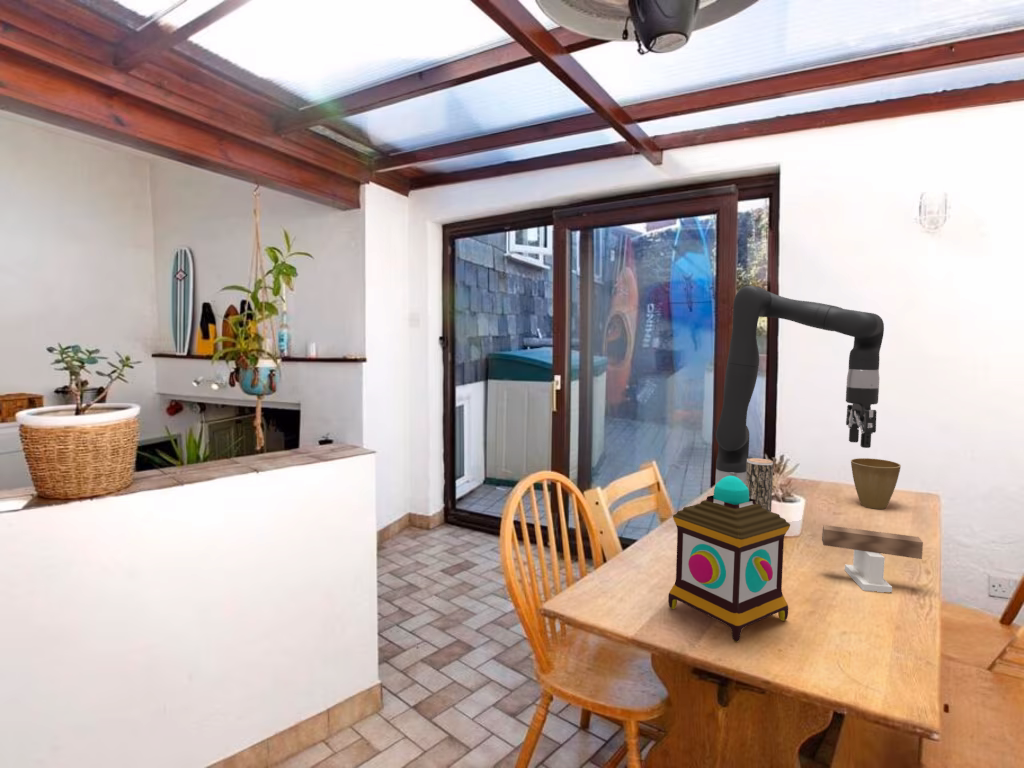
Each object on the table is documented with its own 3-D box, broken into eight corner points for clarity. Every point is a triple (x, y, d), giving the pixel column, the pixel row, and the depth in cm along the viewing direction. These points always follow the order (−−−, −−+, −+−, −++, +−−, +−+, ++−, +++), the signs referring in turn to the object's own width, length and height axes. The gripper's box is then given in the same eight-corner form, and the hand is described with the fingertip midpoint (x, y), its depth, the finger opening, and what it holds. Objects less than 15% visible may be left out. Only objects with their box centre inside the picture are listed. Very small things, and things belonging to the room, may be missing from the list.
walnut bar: (823, 545, 137) (824, 529, 137) (822, 540, 140) (822, 524, 140) (921, 559, 128) (922, 542, 128) (917, 553, 132) (918, 536, 132)
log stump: (769, 545, 158) (773, 459, 156) (769, 554, 152) (773, 464, 150) (743, 542, 161) (747, 457, 159) (742, 549, 155) (746, 461, 153)
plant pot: (850, 498, 208) (852, 456, 207) (898, 505, 200) (901, 461, 198) (846, 507, 196) (849, 463, 195) (897, 515, 188) (900, 469, 186)
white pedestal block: (862, 590, 130) (864, 557, 129) (844, 570, 142) (846, 539, 141) (891, 593, 129) (893, 559, 128) (870, 572, 140) (872, 541, 140)
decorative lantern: (717, 586, 132) (721, 461, 129) (798, 622, 115) (805, 479, 113) (658, 607, 121) (662, 471, 119) (738, 649, 104) (744, 493, 102)
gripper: (889, 388, 143) (885, 450, 145) (867, 384, 157) (864, 441, 158) (857, 387, 145) (853, 448, 146) (838, 383, 159) (835, 439, 160)
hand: (859, 444), depth 152 cm, fingers open, 8 cm apart
